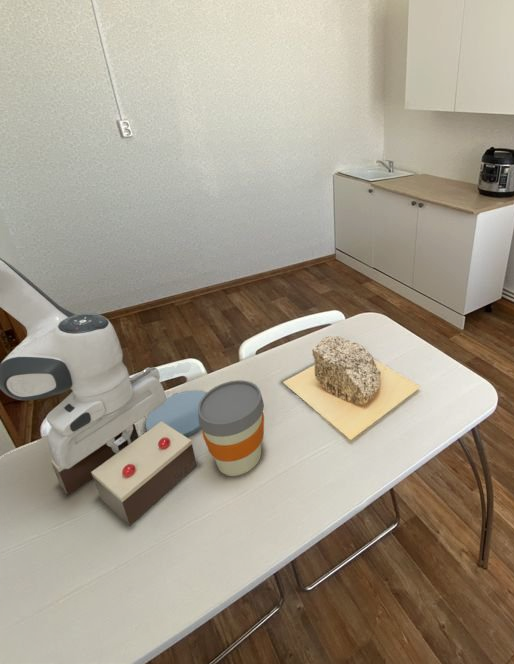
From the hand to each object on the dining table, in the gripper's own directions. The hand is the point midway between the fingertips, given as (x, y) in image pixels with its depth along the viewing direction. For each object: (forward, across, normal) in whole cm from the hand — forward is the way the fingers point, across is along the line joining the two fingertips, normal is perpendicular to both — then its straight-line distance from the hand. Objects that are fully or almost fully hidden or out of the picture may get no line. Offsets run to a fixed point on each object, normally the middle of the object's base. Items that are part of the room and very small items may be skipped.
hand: (122, 447), depth 78 cm
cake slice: (+5, +2, -5) cm, 8 cm away
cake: (+5, 0, +8) cm, 9 cm away
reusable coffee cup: (+5, -13, +19) cm, 23 cm away
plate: (+5, -14, -2) cm, 15 cm away
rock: (+5, -43, +28) cm, 52 cm away
